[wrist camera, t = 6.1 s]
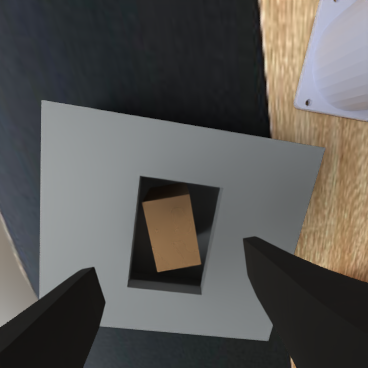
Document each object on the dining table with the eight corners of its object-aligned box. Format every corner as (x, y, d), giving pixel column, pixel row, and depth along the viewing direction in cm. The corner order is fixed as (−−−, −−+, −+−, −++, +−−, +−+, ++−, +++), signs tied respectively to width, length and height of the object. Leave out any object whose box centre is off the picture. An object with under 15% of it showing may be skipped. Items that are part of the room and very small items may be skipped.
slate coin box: (280, 146, 16) (325, 148, 12) (244, 290, 19) (268, 340, 14) (84, 113, 15) (41, 100, 10) (76, 272, 18) (39, 320, 13)
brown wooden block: (186, 181, 16) (189, 194, 12) (195, 236, 17) (201, 264, 13) (150, 187, 16) (141, 202, 12) (161, 242, 17) (157, 272, 13)
